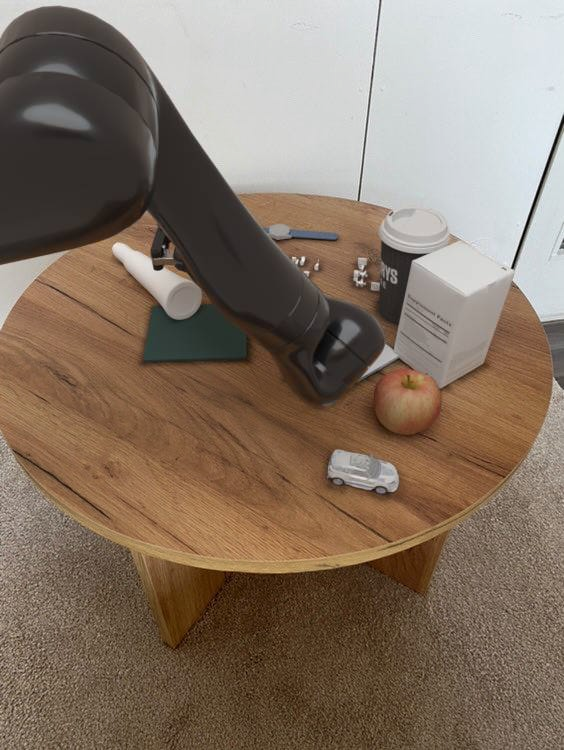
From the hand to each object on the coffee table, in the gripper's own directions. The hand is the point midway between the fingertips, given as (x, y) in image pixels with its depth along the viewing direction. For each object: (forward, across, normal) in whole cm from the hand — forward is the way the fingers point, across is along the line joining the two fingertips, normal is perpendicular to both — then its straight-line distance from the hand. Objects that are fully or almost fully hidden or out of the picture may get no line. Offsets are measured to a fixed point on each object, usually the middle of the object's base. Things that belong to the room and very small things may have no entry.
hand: (162, 215), depth 75 cm
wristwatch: (+8, -26, +16) cm, 31 cm away
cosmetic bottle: (-3, 0, +12) cm, 13 cm away
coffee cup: (-20, -27, +16) cm, 37 cm away
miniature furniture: (-7, -26, +16) cm, 31 cm away
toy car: (-39, -2, +16) cm, 42 cm away
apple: (-36, -11, +16) cm, 41 cm away
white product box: (-30, -23, +16) cm, 41 cm away
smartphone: (-24, -12, +16) cm, 31 cm away
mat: (-6, 0, +16) cm, 17 cm away
